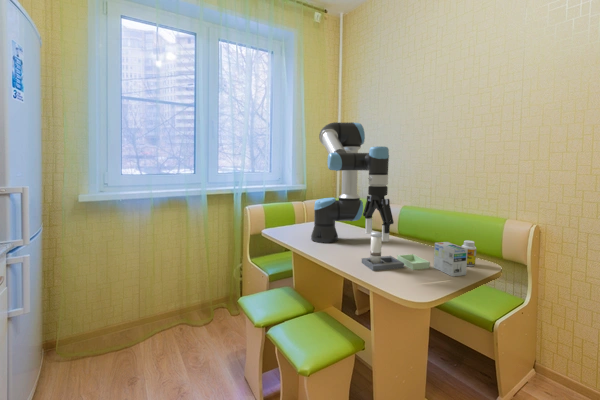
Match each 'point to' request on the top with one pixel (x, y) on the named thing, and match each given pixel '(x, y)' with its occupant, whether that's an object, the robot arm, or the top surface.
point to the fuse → (375, 248)
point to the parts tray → (413, 261)
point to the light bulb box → (450, 258)
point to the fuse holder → (383, 263)
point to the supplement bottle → (470, 252)
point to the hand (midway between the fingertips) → (376, 237)
